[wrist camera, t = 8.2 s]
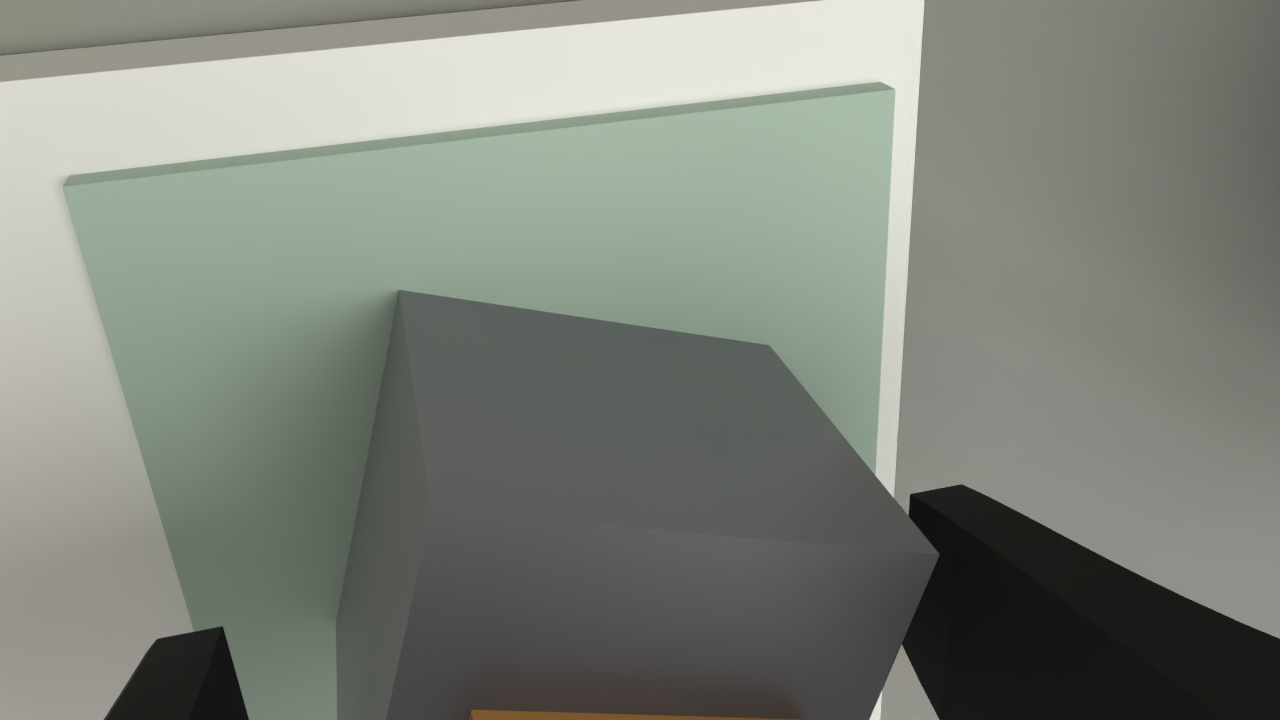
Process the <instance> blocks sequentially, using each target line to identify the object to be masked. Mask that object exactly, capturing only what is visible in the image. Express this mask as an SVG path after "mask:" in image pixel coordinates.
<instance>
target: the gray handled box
mask: <svg viewBox="0 0 1280 720" xmlns="http://www.w3.org/2000/svg"><path fill="white" fill-rule="evenodd" d="M939 555H940V554H939V553H938V552H937V551H936V549H935V548H934V547H933V546H932V545H931V543H930V542H929V541H928V540H927V538H926V537H925V536H924V535H923V533H922V532H921V531H920V530H919V529H918V527H917V526H916V525H915V524H914V522H913V521H912V520H911V519H910V517H909V516H908V515H907V514H906V513H905V511H904V510H903V509H902V508H901V506H900V505H899V504H898V503H897V501H896V500H895V499H894V498H893V497H892V495H891V494H890V493H889V492H888V490H887V489H886V488H885V487H884V485H883V484H882V483H881V482H880V481H879V479H878V478H877V477H876V476H875V474H874V473H873V472H872V471H871V469H870V468H869V467H868V466H867V465H866V463H865V462H864V461H863V460H862V458H861V457H860V456H859V455H858V453H857V452H856V451H855V450H854V449H853V447H852V446H851V445H850V444H849V442H848V441H847V440H846V439H845V438H844V436H843V435H842V434H841V433H840V431H839V430H838V429H837V428H836V426H835V425H834V424H833V423H832V422H831V420H830V419H829V418H828V417H827V415H826V414H825V413H824V412H823V410H822V409H821V408H820V407H819V406H818V404H817V403H816V402H815V401H814V399H813V398H812V397H811V396H810V394H809V393H808V392H807V391H806V390H805V388H804V387H803V386H802V385H801V383H800V382H799V381H798V380H797V378H796V377H795V376H794V375H793V374H792V372H791V371H790V370H789V369H788V367H787V366H786V365H785V364H784V362H783V361H782V360H781V359H780V358H779V356H778V355H777V354H776V353H775V351H774V350H773V349H772V348H771V347H770V345H765V344H758V343H751V342H745V341H738V340H731V339H725V338H718V337H711V336H705V335H698V334H691V333H685V332H678V331H671V330H665V329H658V328H651V327H645V326H638V325H631V324H624V323H618V322H611V321H604V320H598V319H591V318H584V317H578V316H571V315H564V314H558V313H551V312H544V311H538V310H531V309H524V308H518V307H511V306H504V305H498V304H491V303H484V302H478V301H471V300H464V299H458V298H451V297H444V296H438V295H431V294H424V293H418V292H411V291H404V290H399V293H398V298H397V303H396V308H395V314H394V319H393V324H392V330H391V335H390V340H389V345H388V351H387V356H386V361H385V366H384V372H383V377H382V382H381V387H380V393H379V398H378V403H377V408H376V414H375V419H374V424H373V429H372V435H371V440H370V445H369V451H368V456H367V461H366V466H365V472H364V477H363V482H362V487H361V493H360V498H359V503H358V508H357V514H356V519H355V524H354V529H353V535H352V540H351V545H350V550H349V556H348V561H347V566H346V571H345V577H344V582H343V587H342V593H341V598H340V603H339V608H338V614H337V619H336V670H337V720H869V719H870V717H871V715H872V712H873V710H874V708H875V705H876V703H877V701H878V698H879V696H880V694H881V691H882V689H883V687H884V684H885V682H886V679H887V677H888V675H889V672H890V670H891V668H892V665H893V663H894V661H895V658H896V656H897V654H898V651H899V649H900V647H901V644H902V642H903V640H904V637H905V635H906V632H907V630H908V628H909V625H910V623H911V621H912V618H913V616H914V614H915V611H916V609H917V607H918V604H919V602H920V600H921V597H922V595H923V593H924V590H925V588H926V585H927V583H928V581H929V578H930V576H931V574H932V571H933V569H934V567H935V564H936V562H937V560H938V557H939Z"/></svg>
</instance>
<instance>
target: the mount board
mask: <svg viewBox="0 0 1280 720" xmlns="http://www.w3.org/2000/svg"><path fill="white" fill-rule="evenodd" d="M923 13H924V0H580V1H569V2H559V3H548V4H538V5H527V6H517V7H506V8H496V9H485V10H475V11H464V12H454V13H443V14H433V15H422V16H412V17H401V18H391V19H380V20H370V21H359V22H349V23H338V24H328V25H317V26H307V27H296V28H286V29H275V30H265V31H254V32H244V33H233V34H223V35H212V36H202V37H191V38H181V39H170V40H160V41H149V42H139V43H128V44H118V45H107V46H97V47H86V48H76V49H65V50H55V51H44V52H34V53H23V54H12V55H2V56H0V720H104V718H105V717H106V715H107V714H108V712H109V710H110V709H111V707H112V706H113V704H114V703H115V701H116V699H117V698H118V696H119V695H120V693H121V692H122V690H123V688H124V687H125V685H126V684H127V682H128V680H129V679H130V677H131V676H132V674H133V673H134V671H135V669H136V668H137V666H138V665H139V663H140V662H141V660H142V658H143V657H144V655H145V654H146V652H147V651H148V649H149V648H150V647H151V646H152V644H153V643H154V642H155V641H156V639H158V638H164V637H169V636H174V635H179V634H185V633H190V632H194V630H193V626H192V623H191V620H190V616H189V613H188V610H187V606H186V603H185V599H184V596H183V593H182V589H181V586H180V583H179V579H178V576H177V573H176V569H175V566H174V562H173V559H172V556H171V552H170V549H169V546H168V542H167V539H166V535H165V532H164V529H163V525H162V522H161V519H160V515H159V512H158V508H157V505H156V502H155V498H154V495H153V492H152V488H151V485H150V482H149V478H148V475H147V471H146V468H145V465H144V461H143V458H142V455H141V451H140V448H139V444H138V441H137V438H136V434H135V431H134V428H133V424H132V421H131V418H130V414H129V411H128V407H127V404H126V401H125V397H124V394H123V391H122V387H121V384H120V380H119V377H118V374H117V370H116V367H115V364H114V360H113V357H112V354H111V350H110V347H109V343H108V340H107V337H106V333H105V330H104V327H103V323H102V320H101V316H100V313H99V310H98V306H97V303H96V300H95V296H94V293H93V289H92V286H91V283H90V279H89V276H88V273H87V269H86V266H85V263H84V259H83V256H82V252H81V249H80V246H79V242H78V239H77V236H76V232H75V229H74V225H73V222H72V219H71V215H70V212H69V209H68V205H67V202H66V199H65V195H64V192H63V188H62V186H63V185H64V183H65V182H66V180H67V179H68V177H69V176H70V175H77V174H86V173H94V172H103V171H112V170H120V169H129V168H138V167H146V166H155V165H164V164H172V163H181V162H190V161H198V160H207V159H216V158H224V157H233V156H242V155H250V154H259V153H267V152H276V151H285V150H293V149H302V148H311V147H319V146H328V145H337V144H345V143H354V142H363V141H371V140H380V139H389V138H397V137H406V136H415V135H423V134H432V133H441V132H449V131H458V130H467V129H475V128H484V127H493V126H501V125H510V124H519V123H527V122H536V121H545V120H553V119H562V118H571V117H579V116H588V115H597V114H605V113H614V112H623V111H631V110H640V109H649V108H657V107H666V106H675V105H683V104H692V103H701V102H709V101H718V100H727V99H735V98H744V97H753V96H761V95H770V94H779V93H787V92H796V91H805V90H813V89H822V88H831V87H839V86H848V85H857V84H865V83H874V82H882V83H884V84H886V85H888V86H890V87H892V88H894V89H895V108H894V127H893V147H892V166H891V185H890V204H889V224H888V243H887V262H886V281H885V301H884V320H883V339H882V358H881V378H880V397H879V416H878V435H877V454H876V474H875V476H876V477H877V478H878V479H879V481H880V482H881V483H882V484H883V485H884V487H885V488H886V489H887V490H888V492H889V493H890V494H891V495H892V497H893V498H894V485H895V469H896V453H897V437H898V420H899V404H900V388H901V371H902V355H903V339H904V323H905V306H906V290H907V274H908V257H909V241H910V225H911V209H912V192H913V176H914V160H915V144H916V127H917V111H918V95H919V78H920V62H921V46H922V30H923ZM881 697H882V691H881V694H880V696H879V698H878V701H877V703H876V705H875V708H874V710H873V712H872V715H871V717H870V719H869V720H880V713H881Z"/></svg>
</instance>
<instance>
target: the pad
mask: <svg viewBox="0 0 1280 720" xmlns="http://www.w3.org/2000/svg"><path fill="white" fill-rule="evenodd" d="M894 108H895V89H894V88H892V87H890V86H888V85H886V84H884V83H882V82H874V83H865V84H857V85H848V86H839V87H831V88H822V89H813V90H805V91H796V92H787V93H779V94H770V95H761V96H753V97H744V98H735V99H727V100H718V101H709V102H701V103H692V104H683V105H675V106H666V107H657V108H649V109H640V110H631V111H623V112H614V113H605V114H597V115H588V116H579V117H571V118H562V119H553V120H545V121H536V122H527V123H519V124H510V125H501V126H493V127H484V128H475V129H467V130H458V131H449V132H441V133H432V134H423V135H415V136H406V137H397V138H389V139H380V140H371V141H363V142H354V143H345V144H337V145H328V146H319V147H311V148H302V149H293V150H285V151H276V152H267V153H259V154H250V155H242V156H233V157H224V158H216V159H207V160H198V161H190V162H181V163H172V164H164V165H155V166H146V167H138V168H129V169H120V170H112V171H103V172H94V173H86V174H77V175H70V176H69V177H68V179H67V180H66V182H65V183H64V185H63V186H62V188H63V192H64V195H65V199H66V202H67V205H68V209H69V212H70V215H71V219H72V222H73V225H74V229H75V232H76V236H77V239H78V242H79V246H80V249H81V252H82V256H83V259H84V263H85V266H86V269H87V273H88V276H89V279H90V283H91V286H92V289H93V293H94V296H95V300H96V303H97V306H98V310H99V313H100V316H101V320H102V323H103V327H104V330H105V333H106V337H107V340H108V343H109V347H110V350H111V354H112V357H113V360H114V364H115V367H116V370H117V374H118V377H119V380H120V384H121V387H122V391H123V394H124V397H125V401H126V404H127V407H128V411H129V414H130V418H131V421H132V424H133V428H134V431H135V434H136V438H137V441H138V444H139V448H140V451H141V455H142V458H143V461H144V465H145V468H146V471H147V475H148V478H149V482H150V485H151V488H152V492H153V495H154V498H155V502H156V505H157V508H158V512H159V515H160V519H161V522H162V525H163V529H164V532H165V535H166V539H167V542H168V546H169V549H170V552H171V556H172V559H173V562H174V566H175V569H176V573H177V576H178V579H179V583H180V586H181V589H182V593H183V596H184V599H185V603H186V606H187V610H188V613H189V616H190V620H191V623H192V626H193V630H194V632H195V631H200V630H205V629H211V628H216V627H221V626H223V628H224V632H225V635H226V639H227V643H228V646H229V650H230V653H231V657H232V660H233V664H234V668H235V671H236V675H237V678H238V682H239V686H240V689H241V693H242V696H243V700H244V703H245V707H246V711H247V714H248V718H249V720H337V670H336V619H337V614H338V608H339V603H340V598H341V593H342V587H343V582H344V577H345V571H346V566H347V561H348V556H349V550H350V545H351V540H352V535H353V529H354V524H355V519H356V514H357V508H358V503H359V498H360V493H361V487H362V482H363V477H364V472H365V466H366V461H367V456H368V451H369V445H370V440H371V435H372V429H373V424H374V419H375V414H376V408H377V403H378V398H379V393H380V387H381V382H382V377H383V372H384V366H385V361H386V356H387V351H388V345H389V340H390V335H391V330H392V324H393V319H394V314H395V308H396V303H397V298H398V293H399V290H404V291H411V292H418V293H424V294H431V295H438V296H444V297H451V298H458V299H464V300H471V301H478V302H484V303H491V304H498V305H504V306H511V307H518V308H524V309H531V310H538V311H544V312H551V313H558V314H564V315H571V316H578V317H584V318H591V319H598V320H604V321H611V322H618V323H624V324H631V325H638V326H645V327H651V328H658V329H665V330H671V331H678V332H685V333H691V334H698V335H705V336H711V337H718V338H725V339H731V340H738V341H745V342H751V343H758V344H765V345H770V347H771V348H772V349H773V350H774V351H775V353H776V354H777V355H778V356H779V358H780V359H781V360H782V361H783V362H784V364H785V365H786V366H787V367H788V369H789V370H790V371H791V372H792V374H793V375H794V376H795V377H796V378H797V380H798V381H799V382H800V383H801V385H802V386H803V387H804V388H805V390H806V391H807V392H808V393H809V394H810V396H811V397H812V398H813V399H814V401H815V402H816V403H817V404H818V406H819V407H820V408H821V409H822V410H823V412H824V413H825V414H826V415H827V417H828V418H829V419H830V420H831V422H832V423H833V424H834V425H835V426H836V428H837V429H838V430H839V431H840V433H841V434H842V435H843V436H844V438H845V439H846V440H847V441H848V442H849V444H850V445H851V446H852V447H853V449H854V450H855V451H856V452H857V453H858V455H859V456H860V457H861V458H862V460H863V461H864V462H865V463H866V465H867V466H868V467H869V468H870V469H871V471H872V472H873V473H874V474H876V454H877V435H878V416H879V397H880V378H881V358H882V339H883V320H884V301H885V281H886V262H887V243H888V224H889V204H890V185H891V166H892V147H893V127H894Z"/></svg>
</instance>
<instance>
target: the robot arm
mask: <svg viewBox="0 0 1280 720" xmlns="http://www.w3.org/2000/svg"><path fill="white" fill-rule="evenodd" d="M909 517H910V519H911V520H912V521H913V522H914V524H915V525H916V526H917V527H918V529H919V530H920V531H921V532H922V533H923V535H924V536H925V537H926V538H927V540H928V541H929V542H930V543H931V545H932V546H933V547H934V548H935V549H936V551H937V552H938V553H939V554H940V555H939V557H938V560H937V562H936V564H935V567H934V569H933V571H932V574H931V576H930V578H929V581H928V583H927V585H926V588H925V590H924V593H923V595H922V597H921V600H920V602H919V604H918V607H917V609H916V611H915V614H914V616H913V618H912V621H911V623H910V625H909V628H908V630H907V632H906V635H905V637H904V640H903V642H902V645H903V647H904V650H905V652H906V654H907V656H908V658H909V660H910V662H911V664H912V666H913V668H914V670H915V672H916V674H917V677H918V679H919V681H920V683H921V685H922V687H923V689H924V691H925V693H926V694H927V696H928V698H929V700H930V702H931V704H932V706H933V708H934V710H935V712H936V714H937V716H938V717H939V719H940V720H1280V639H1279V638H1276V637H1274V636H1271V635H1269V634H1267V633H1264V632H1262V631H1259V630H1257V629H1255V628H1252V627H1250V626H1247V625H1245V624H1243V623H1240V622H1238V621H1236V620H1234V619H1232V618H1229V617H1227V616H1225V615H1223V614H1221V613H1218V612H1216V611H1214V610H1212V609H1210V608H1207V607H1205V606H1203V605H1201V604H1199V603H1196V602H1194V601H1192V600H1190V599H1188V598H1185V597H1183V596H1181V595H1179V594H1177V593H1175V592H1173V591H1171V590H1169V589H1167V588H1165V587H1162V586H1160V585H1158V584H1156V583H1154V582H1152V581H1150V580H1148V579H1146V578H1144V577H1142V576H1140V575H1138V574H1136V573H1134V572H1132V571H1130V570H1128V569H1126V568H1124V567H1122V566H1120V565H1118V564H1116V563H1114V562H1112V561H1110V560H1108V559H1106V558H1105V557H1103V556H1101V555H1099V554H1097V553H1095V552H1093V551H1091V550H1089V549H1087V548H1085V547H1083V546H1082V545H1080V544H1078V543H1076V542H1074V541H1072V540H1070V539H1068V538H1066V537H1064V536H1063V535H1061V534H1059V533H1057V532H1055V531H1053V530H1051V529H1049V528H1047V527H1046V526H1044V525H1042V524H1040V523H1038V522H1036V521H1034V520H1032V519H1030V518H1029V517H1027V516H1025V515H1023V514H1021V513H1019V512H1017V511H1015V510H1013V509H1011V508H1009V507H1007V506H1006V505H1004V504H1002V503H1000V502H998V501H996V500H994V499H992V498H990V497H988V496H986V495H984V494H982V493H980V492H977V491H975V490H973V489H971V488H969V487H966V486H964V485H962V484H961V485H956V486H951V487H946V488H940V489H935V490H930V491H925V492H919V493H914V494H910V506H909ZM104 720H249V718H248V714H247V711H246V707H245V703H244V700H243V696H242V693H241V689H240V686H239V682H238V678H237V675H236V671H235V668H234V664H233V660H232V657H231V653H230V650H229V646H228V643H227V639H226V635H225V632H224V628H223V626H221V627H216V628H211V629H205V630H200V631H195V632H190V633H185V634H179V635H174V636H169V637H164V638H158V639H156V641H155V642H154V643H153V644H152V646H151V647H150V648H149V649H148V651H147V652H146V654H145V655H144V657H143V658H142V660H141V662H140V663H139V665H138V666H137V668H136V669H135V671H134V673H133V674H132V676H131V677H130V679H129V680H128V682H127V684H126V685H125V687H124V688H123V690H122V692H121V693H120V695H119V696H118V698H117V699H116V701H115V703H114V704H113V706H112V707H111V709H110V710H109V712H108V714H107V715H106V717H105V718H104Z"/></svg>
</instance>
